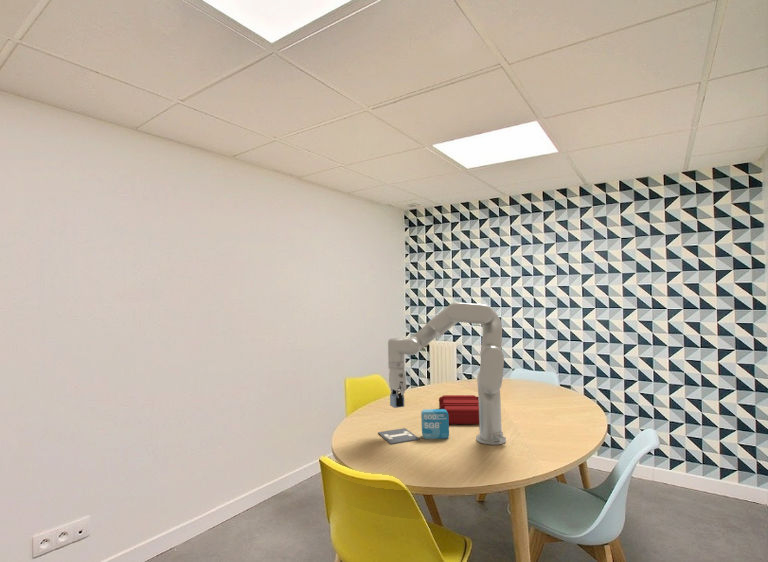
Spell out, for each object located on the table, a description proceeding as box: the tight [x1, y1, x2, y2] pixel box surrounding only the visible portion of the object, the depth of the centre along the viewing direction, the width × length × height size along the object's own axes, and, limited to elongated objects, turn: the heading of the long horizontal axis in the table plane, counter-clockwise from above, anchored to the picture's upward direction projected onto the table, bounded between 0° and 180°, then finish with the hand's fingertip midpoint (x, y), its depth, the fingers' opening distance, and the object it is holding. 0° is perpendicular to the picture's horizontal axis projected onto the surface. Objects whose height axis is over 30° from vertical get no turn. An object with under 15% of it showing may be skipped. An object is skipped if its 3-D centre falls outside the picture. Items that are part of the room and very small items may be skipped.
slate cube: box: [389, 393, 405, 409], centre depth 182 cm, size 5×5×5 cm
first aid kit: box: [438, 394, 479, 425], centre depth 211 cm, size 32×23×9 cm
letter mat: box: [377, 427, 420, 445], centre depth 181 cm, size 16×14×1 cm
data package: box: [420, 408, 450, 440], centre depth 179 cm, size 12×4×12 cm, turn 89°
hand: (397, 404), depth 182 cm, fingers closed on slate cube, 4 cm apart
